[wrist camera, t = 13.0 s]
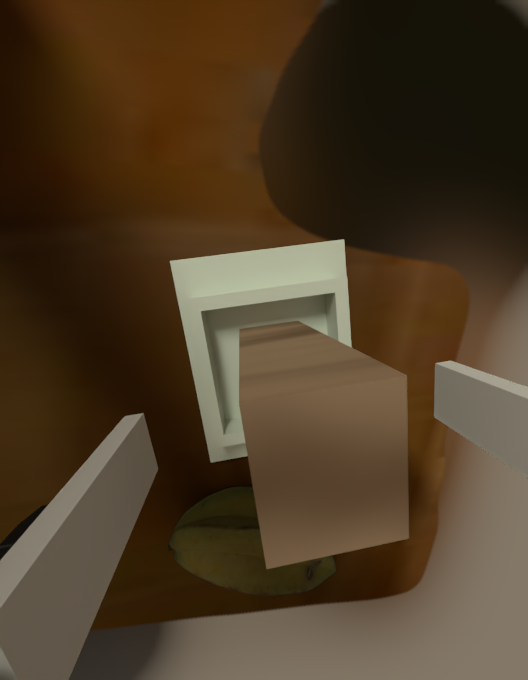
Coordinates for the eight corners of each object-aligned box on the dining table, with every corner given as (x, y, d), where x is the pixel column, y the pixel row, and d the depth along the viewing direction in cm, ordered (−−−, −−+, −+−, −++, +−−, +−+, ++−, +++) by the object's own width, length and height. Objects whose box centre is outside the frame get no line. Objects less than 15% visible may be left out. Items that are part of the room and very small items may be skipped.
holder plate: (172, 261, 20) (160, 256, 17) (341, 240, 21) (358, 232, 18) (211, 458, 23) (207, 482, 20) (353, 432, 24) (369, 452, 21)
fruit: (267, 441, 24) (278, 497, 17) (326, 523, 26) (354, 599, 20) (167, 502, 24) (141, 580, 17) (235, 578, 27) (234, 670, 20)
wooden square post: (239, 329, 21) (239, 403, 7) (297, 320, 21) (406, 375, 7) (249, 395, 22) (266, 569, 8) (304, 386, 22) (409, 538, 9)
